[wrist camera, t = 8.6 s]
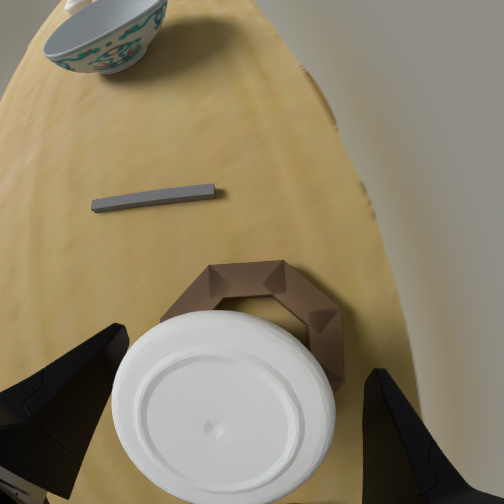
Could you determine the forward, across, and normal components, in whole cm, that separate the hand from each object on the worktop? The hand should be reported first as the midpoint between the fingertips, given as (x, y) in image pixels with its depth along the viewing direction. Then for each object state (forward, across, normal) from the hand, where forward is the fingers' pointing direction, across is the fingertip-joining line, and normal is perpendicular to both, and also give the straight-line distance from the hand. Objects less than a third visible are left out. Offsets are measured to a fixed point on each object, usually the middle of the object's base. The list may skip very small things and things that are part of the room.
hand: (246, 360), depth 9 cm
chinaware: (+26, +21, -13) cm, 36 cm away
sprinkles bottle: (+6, 0, +7) cm, 9 cm away
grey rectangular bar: (+12, +9, 0) cm, 15 cm away
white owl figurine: (+41, +44, -29) cm, 67 cm away
